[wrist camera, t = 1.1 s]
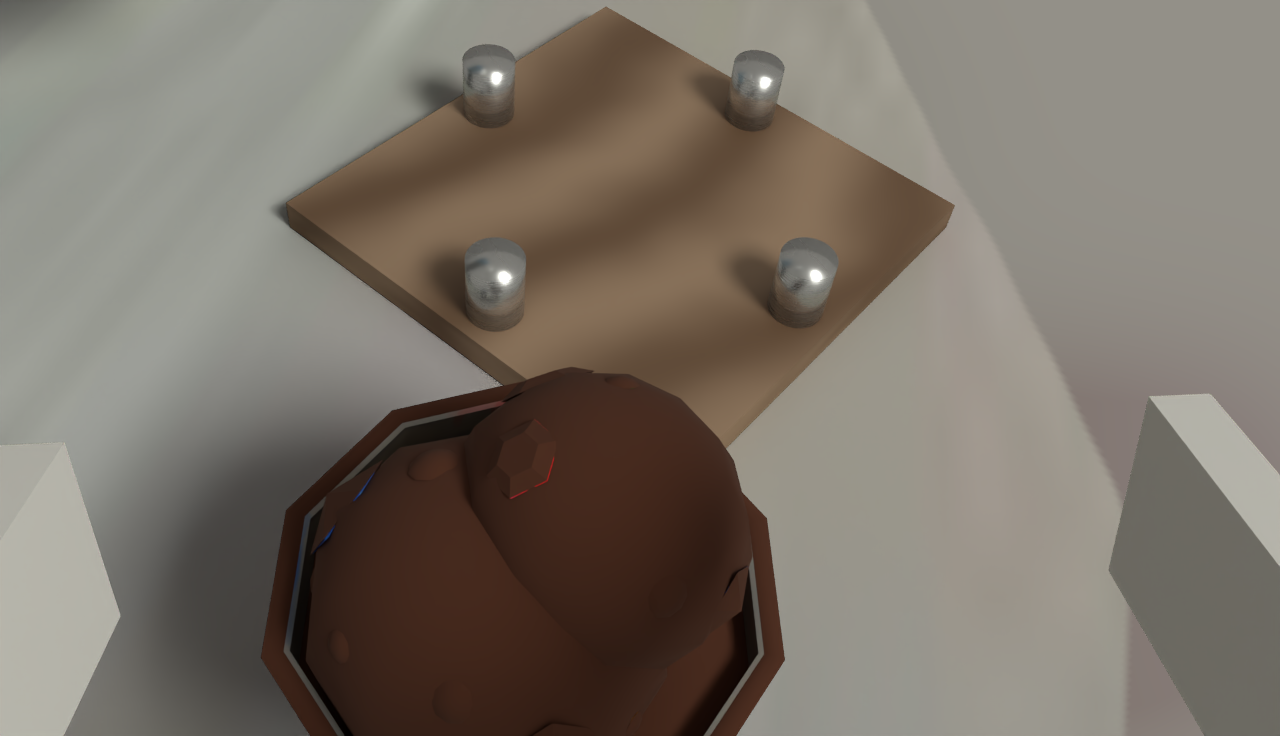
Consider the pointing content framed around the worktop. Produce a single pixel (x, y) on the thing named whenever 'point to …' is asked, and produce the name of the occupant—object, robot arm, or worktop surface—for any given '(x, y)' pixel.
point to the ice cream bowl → (528, 572)
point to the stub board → (625, 220)
